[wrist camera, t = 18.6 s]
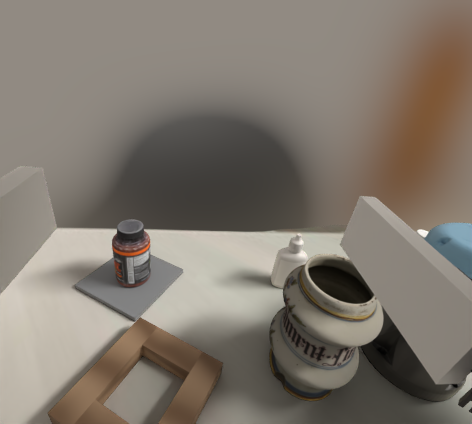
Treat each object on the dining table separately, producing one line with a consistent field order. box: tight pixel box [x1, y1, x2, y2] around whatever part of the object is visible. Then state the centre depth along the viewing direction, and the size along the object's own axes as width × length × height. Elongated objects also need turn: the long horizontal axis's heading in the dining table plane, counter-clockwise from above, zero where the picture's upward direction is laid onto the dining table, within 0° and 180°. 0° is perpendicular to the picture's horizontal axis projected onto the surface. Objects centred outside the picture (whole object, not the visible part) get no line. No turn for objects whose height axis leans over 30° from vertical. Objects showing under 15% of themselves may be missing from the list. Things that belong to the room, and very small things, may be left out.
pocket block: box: [48, 318, 223, 424], centre depth 33 cm, size 14×14×2 cm
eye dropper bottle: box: [271, 234, 308, 288], centre depth 51 cm, size 4×6×12 cm
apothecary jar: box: [270, 254, 383, 401], centre depth 35 cm, size 12×12×18 cm
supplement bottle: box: [112, 220, 151, 287], centre depth 46 cm, size 6×6×11 cm
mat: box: [75, 255, 183, 321], centre depth 49 cm, size 13×13×1 cm
